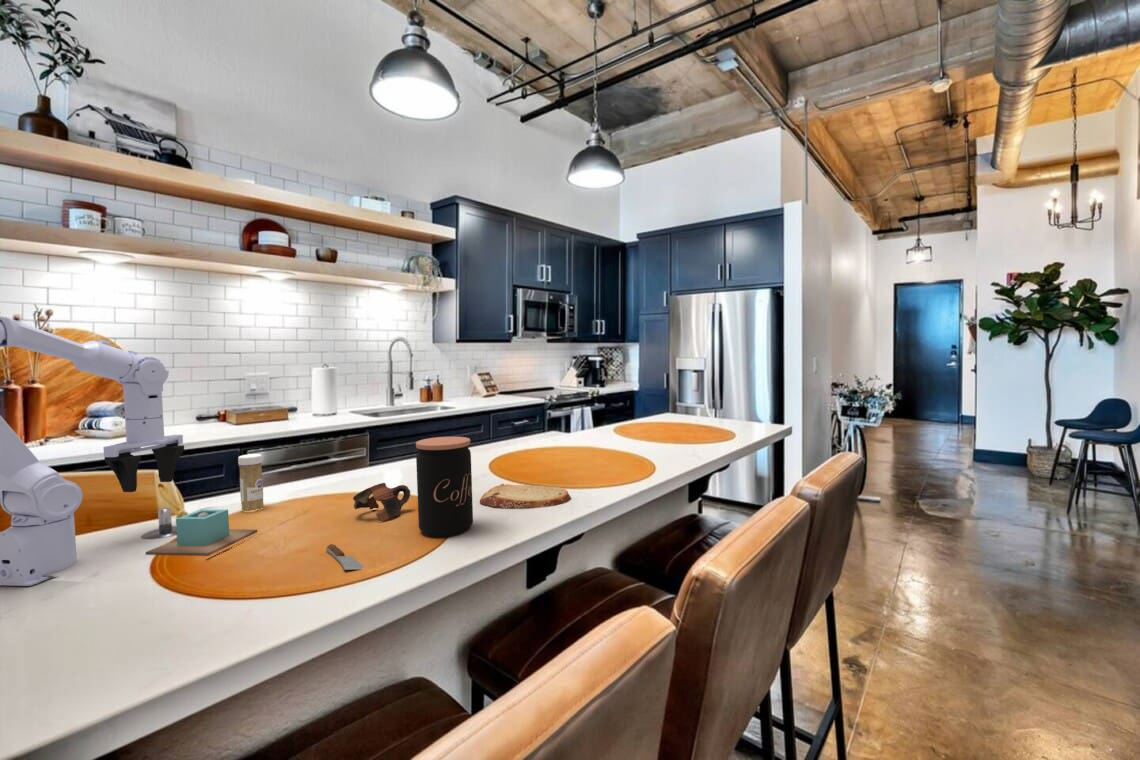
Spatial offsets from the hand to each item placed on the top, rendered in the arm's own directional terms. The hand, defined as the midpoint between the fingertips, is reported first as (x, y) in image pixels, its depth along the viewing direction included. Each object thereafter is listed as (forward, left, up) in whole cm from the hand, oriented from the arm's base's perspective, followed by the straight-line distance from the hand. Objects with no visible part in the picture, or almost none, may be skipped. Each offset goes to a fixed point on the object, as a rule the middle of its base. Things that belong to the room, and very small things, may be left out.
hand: (148, 486), depth 99 cm
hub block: (-4, -15, -10) cm, 19 cm away
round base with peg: (+1, -2, -10) cm, 11 cm away
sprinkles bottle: (+16, -9, -11) cm, 21 cm away
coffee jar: (+7, -58, -11) cm, 59 cm away
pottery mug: (+16, -40, -11) cm, 45 cm away
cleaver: (-8, -46, -11) cm, 47 cm away
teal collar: (-4, -15, -9) cm, 18 cm away
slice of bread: (+28, -70, -11) cm, 76 cm away
